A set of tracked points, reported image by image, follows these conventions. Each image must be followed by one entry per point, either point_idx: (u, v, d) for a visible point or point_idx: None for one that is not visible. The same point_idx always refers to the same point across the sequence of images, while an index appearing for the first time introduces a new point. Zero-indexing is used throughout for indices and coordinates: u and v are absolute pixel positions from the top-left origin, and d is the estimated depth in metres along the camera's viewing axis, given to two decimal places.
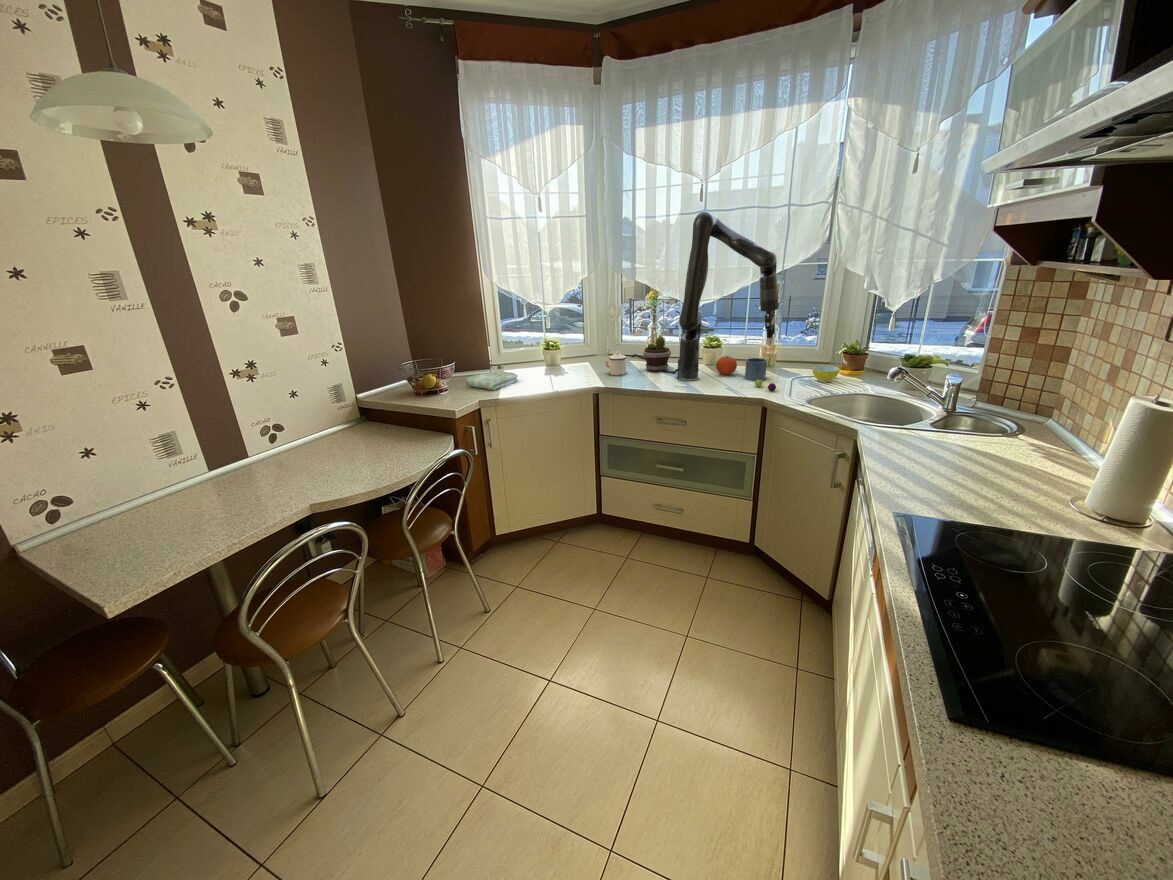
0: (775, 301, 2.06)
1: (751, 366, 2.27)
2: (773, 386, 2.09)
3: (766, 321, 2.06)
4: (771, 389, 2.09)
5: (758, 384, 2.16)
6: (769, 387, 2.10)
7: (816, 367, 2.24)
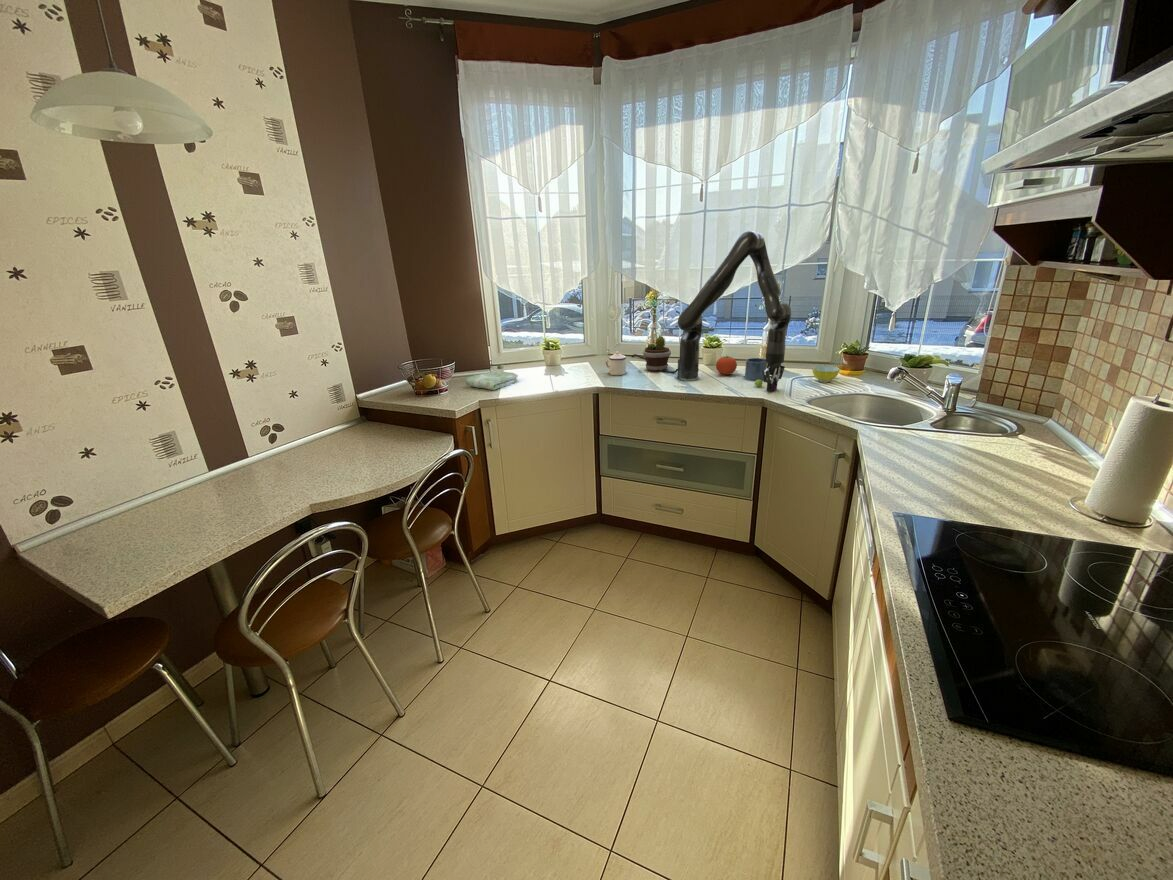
0: (778, 355, 2.02)
1: (751, 366, 2.27)
2: (773, 386, 2.09)
3: (764, 376, 2.06)
4: None
5: (758, 384, 2.16)
6: None
7: (816, 367, 2.24)
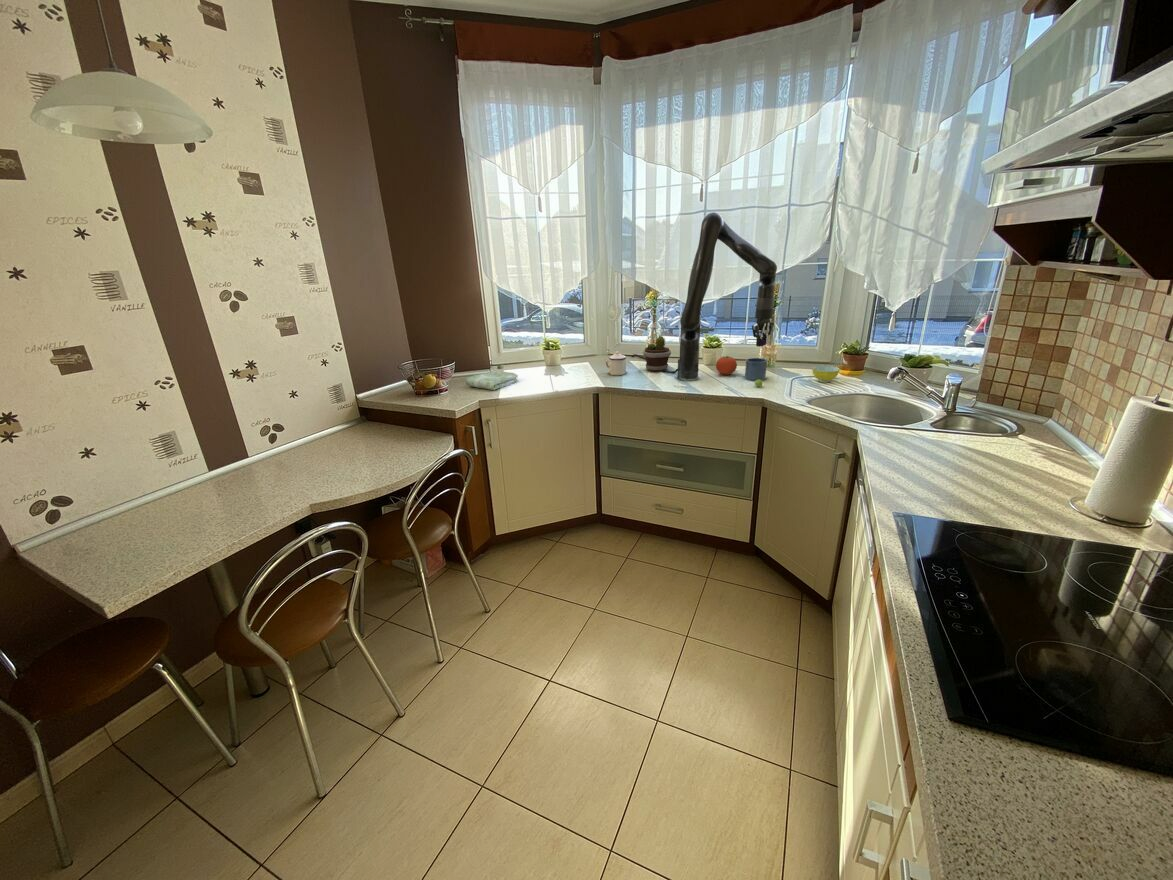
0: (766, 311, 2.12)
1: (751, 366, 2.27)
2: (762, 341, 2.19)
3: (753, 331, 2.16)
4: None
5: (758, 384, 2.16)
6: None
7: (816, 367, 2.24)
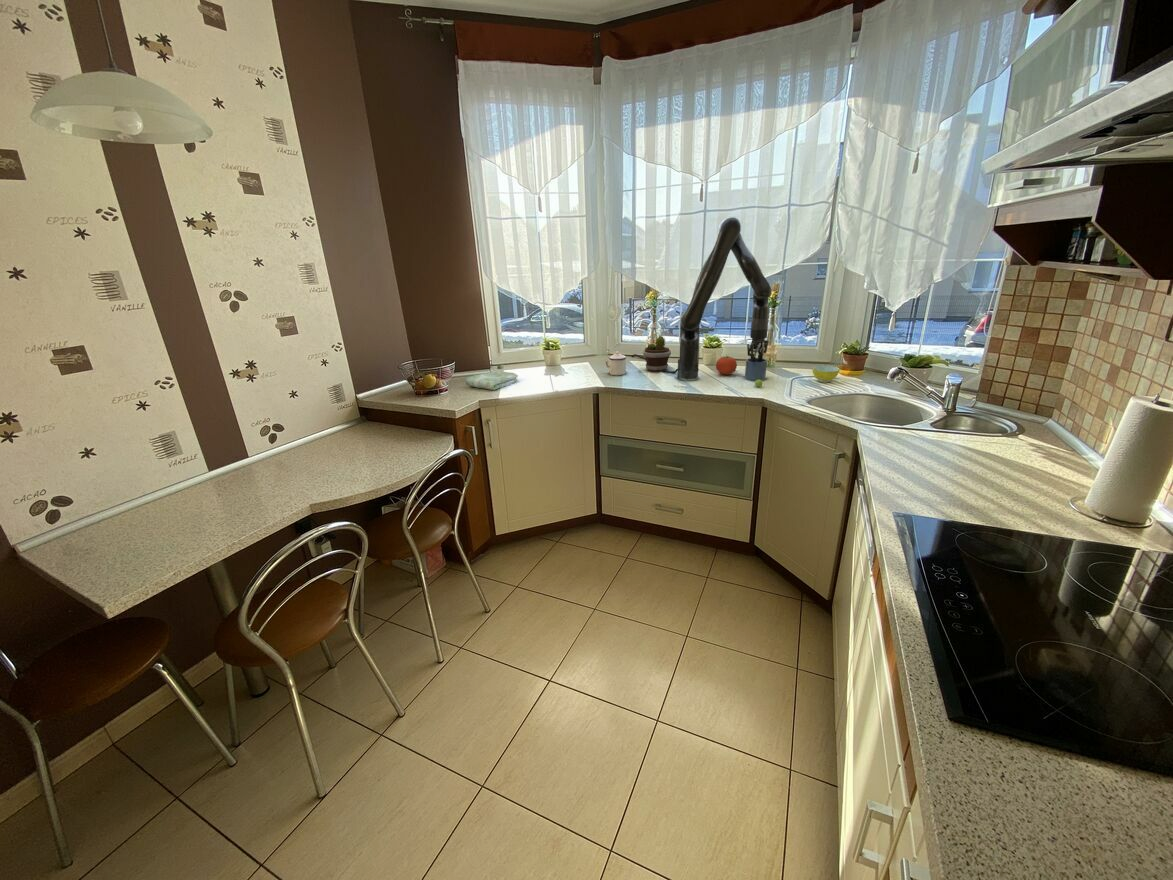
0: (761, 331, 2.20)
1: (751, 366, 2.27)
2: None
3: (748, 350, 2.24)
4: None
5: (758, 384, 2.16)
6: None
7: (816, 367, 2.24)
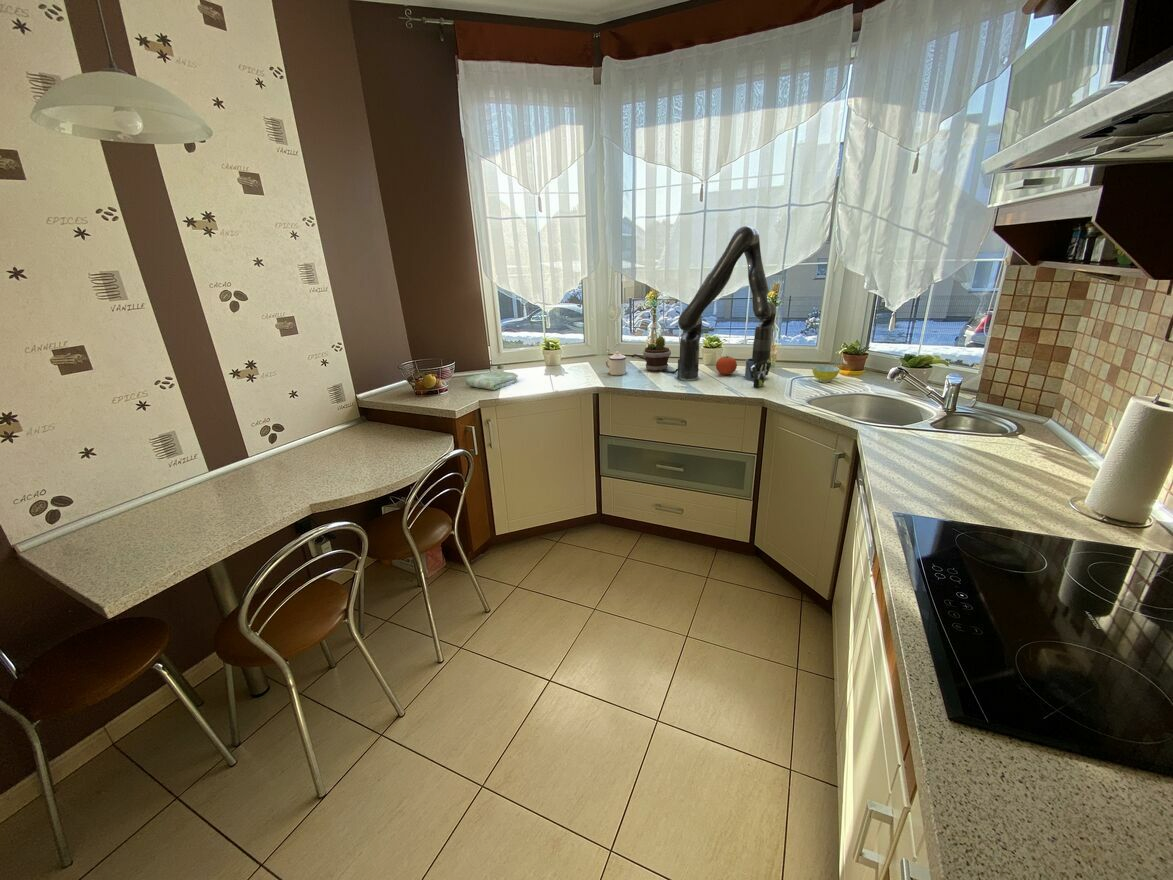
0: (764, 352, 2.09)
1: (751, 366, 2.27)
2: None
3: (751, 372, 2.13)
4: None
5: None
6: None
7: (816, 367, 2.24)
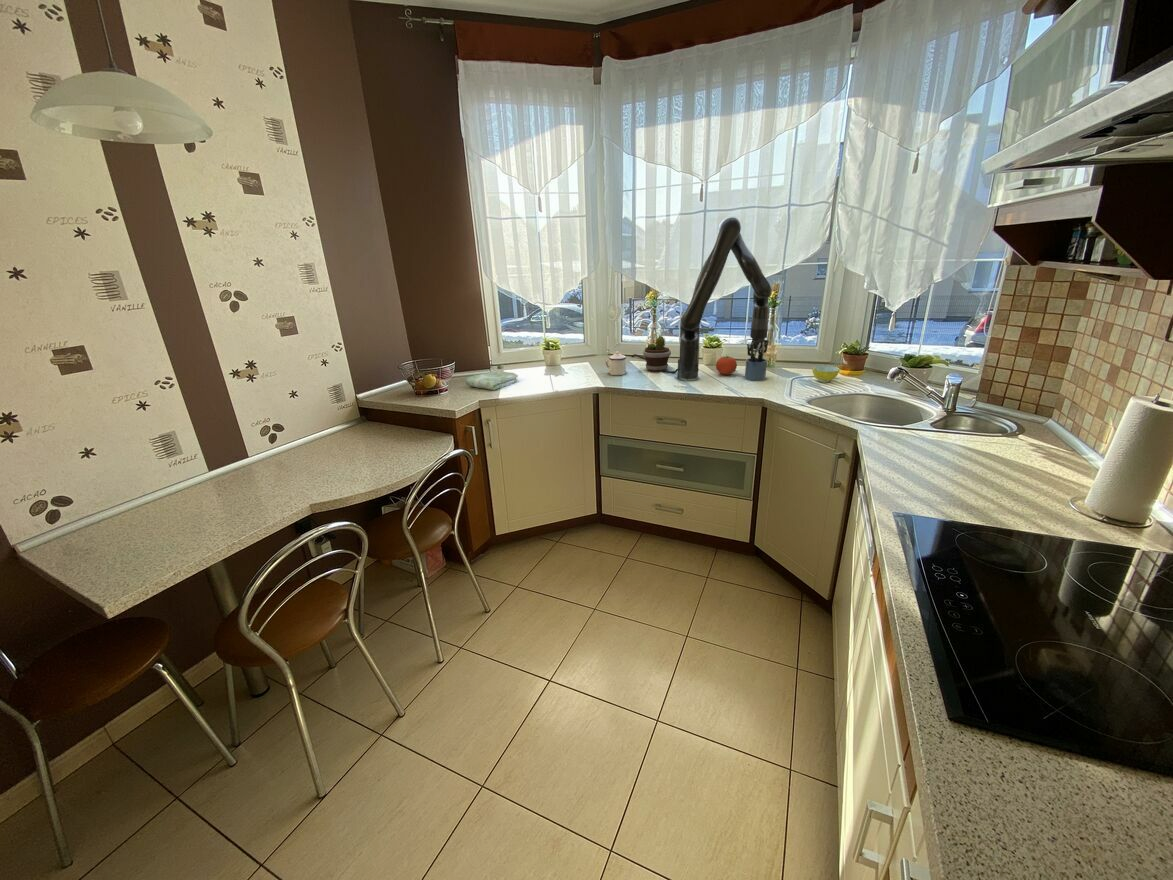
0: (761, 331, 2.20)
1: (751, 366, 2.27)
2: None
3: (748, 349, 2.24)
4: None
5: None
6: None
7: (816, 367, 2.24)
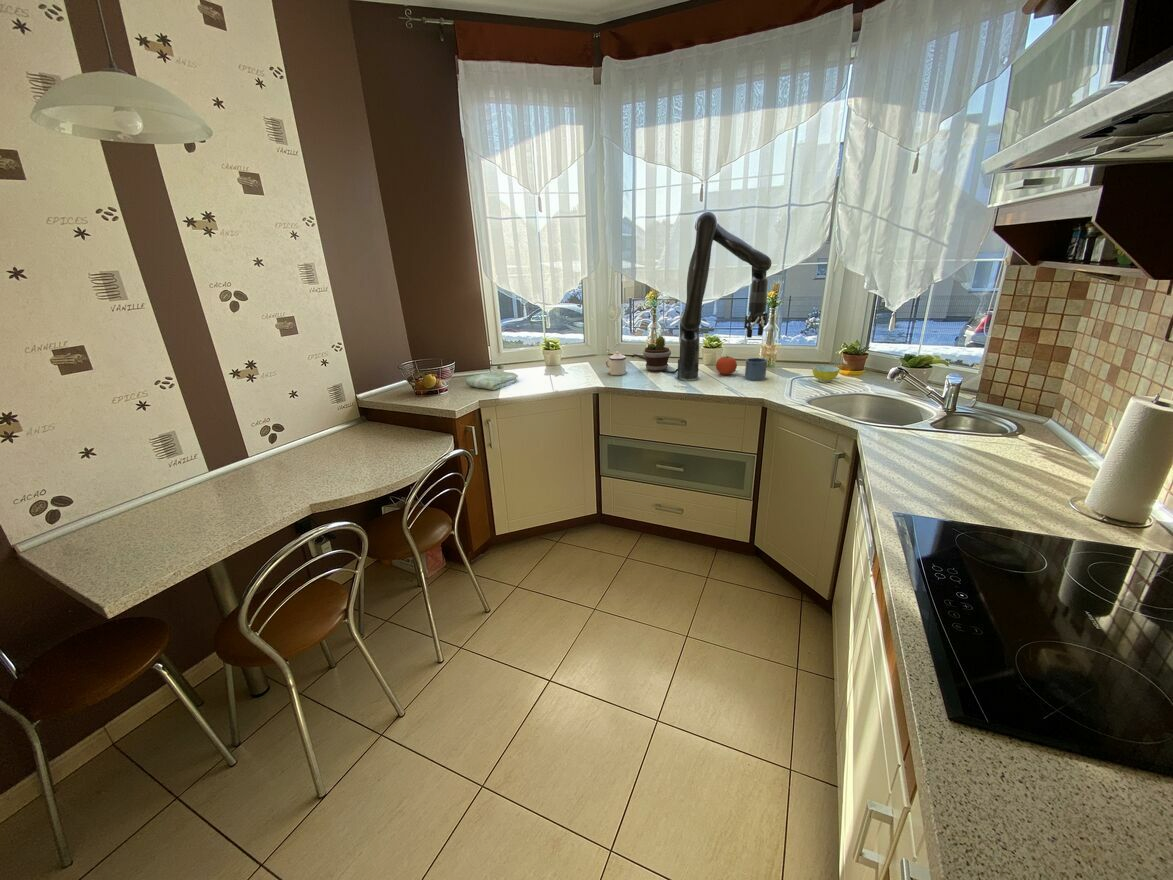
0: (760, 304, 2.19)
1: (751, 366, 2.27)
2: None
3: (746, 321, 2.21)
4: None
5: None
6: None
7: (816, 367, 2.24)
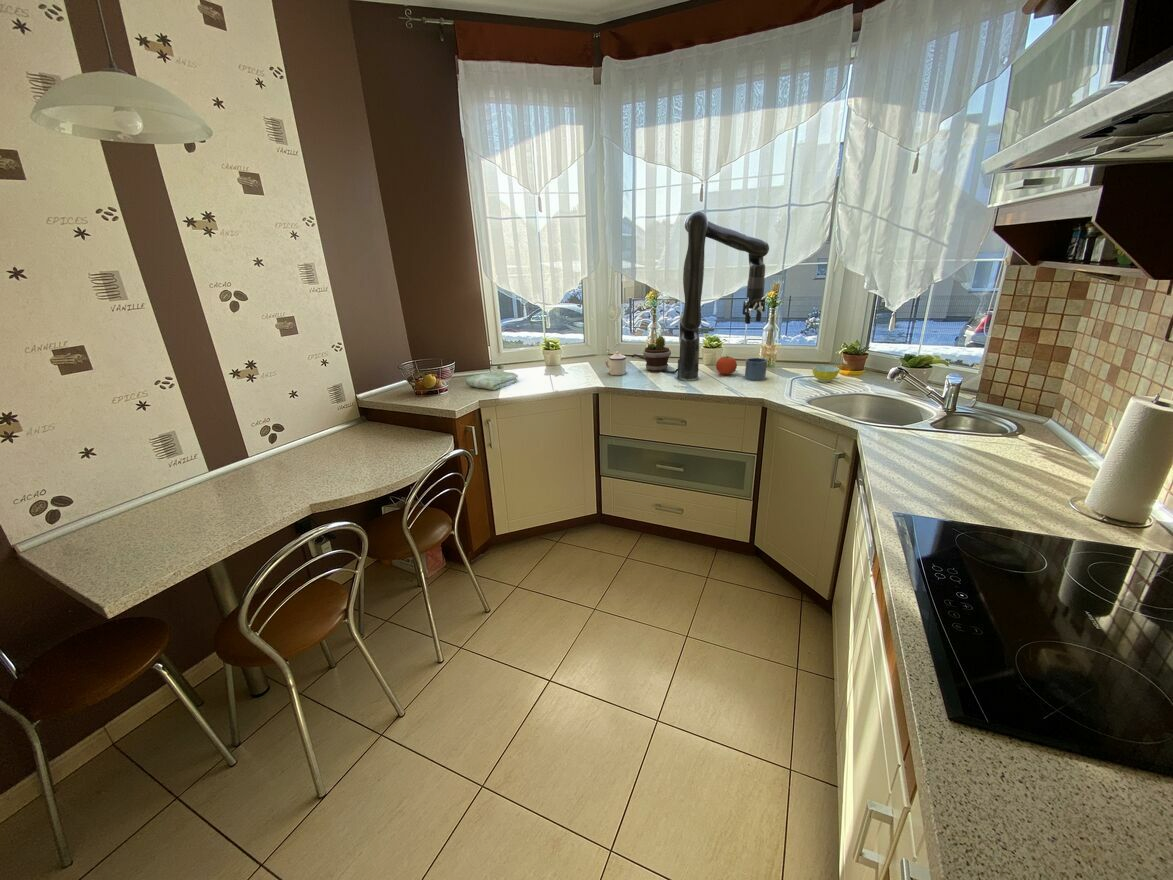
0: (757, 290, 2.19)
1: (751, 366, 2.27)
2: None
3: (744, 307, 2.21)
4: None
5: None
6: None
7: (816, 367, 2.24)
